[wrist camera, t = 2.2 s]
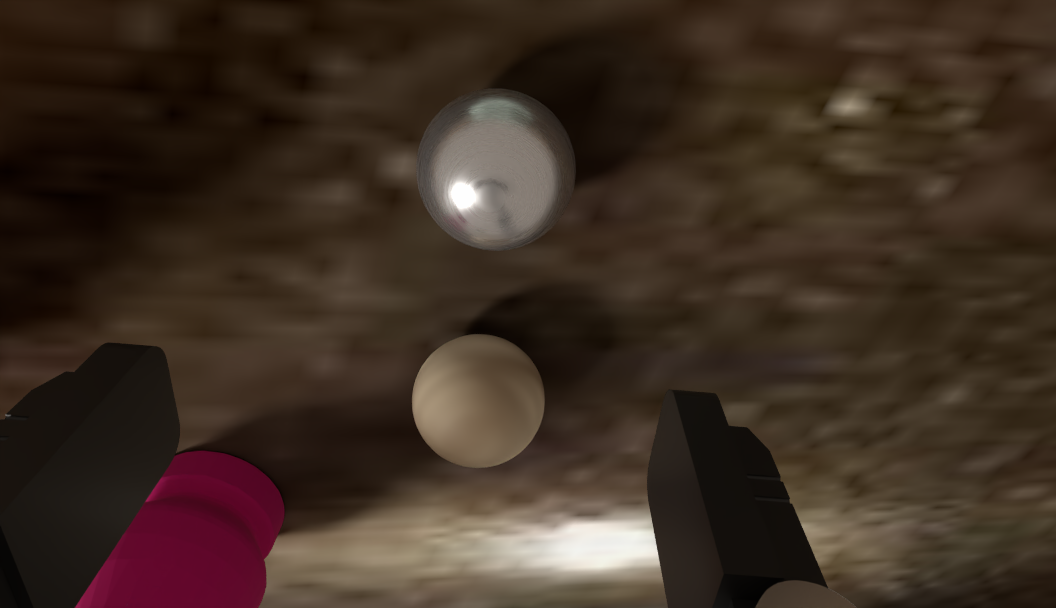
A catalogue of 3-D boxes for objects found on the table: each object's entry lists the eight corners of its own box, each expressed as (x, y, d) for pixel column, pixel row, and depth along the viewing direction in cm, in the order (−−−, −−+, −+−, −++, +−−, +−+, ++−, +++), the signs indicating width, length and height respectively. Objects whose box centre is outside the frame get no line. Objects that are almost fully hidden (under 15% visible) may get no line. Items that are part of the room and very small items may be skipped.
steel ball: (602, 134, 24) (615, 183, 19) (516, 240, 26) (509, 306, 21) (483, 41, 22) (467, 71, 18) (401, 161, 24) (369, 214, 20)
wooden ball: (569, 354, 28) (573, 434, 24) (498, 430, 30) (489, 517, 26) (468, 287, 27) (453, 359, 22) (400, 371, 29) (373, 453, 24)
